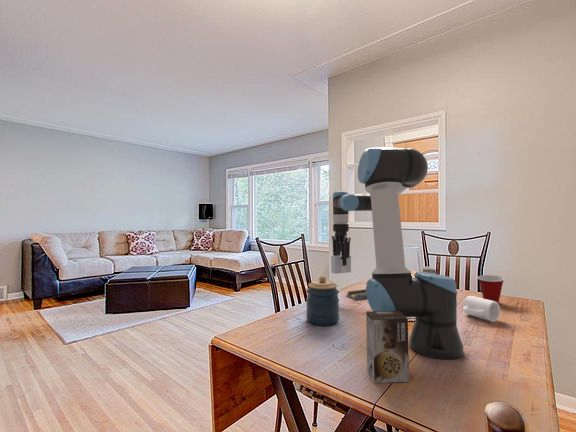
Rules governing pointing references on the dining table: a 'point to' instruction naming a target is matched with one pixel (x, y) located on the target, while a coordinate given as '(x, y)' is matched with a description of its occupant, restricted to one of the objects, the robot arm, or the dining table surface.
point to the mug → (481, 308)
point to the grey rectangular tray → (357, 294)
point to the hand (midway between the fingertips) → (341, 271)
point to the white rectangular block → (339, 264)
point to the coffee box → (387, 346)
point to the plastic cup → (491, 287)
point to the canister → (322, 302)
